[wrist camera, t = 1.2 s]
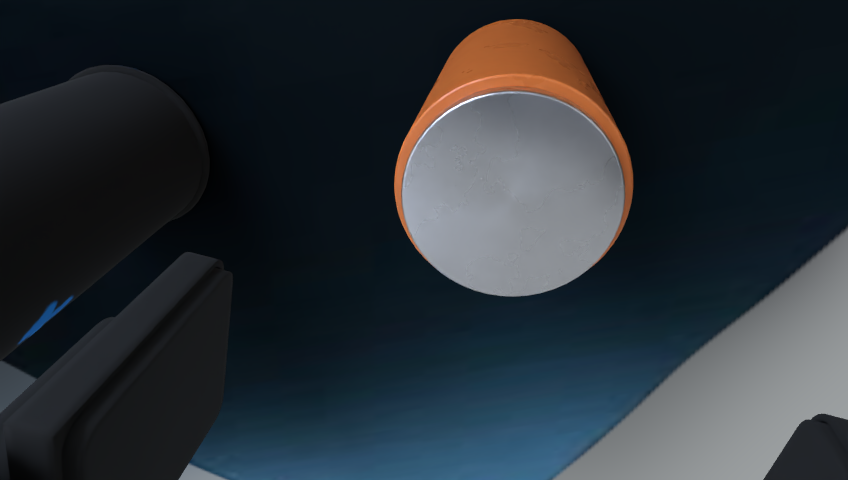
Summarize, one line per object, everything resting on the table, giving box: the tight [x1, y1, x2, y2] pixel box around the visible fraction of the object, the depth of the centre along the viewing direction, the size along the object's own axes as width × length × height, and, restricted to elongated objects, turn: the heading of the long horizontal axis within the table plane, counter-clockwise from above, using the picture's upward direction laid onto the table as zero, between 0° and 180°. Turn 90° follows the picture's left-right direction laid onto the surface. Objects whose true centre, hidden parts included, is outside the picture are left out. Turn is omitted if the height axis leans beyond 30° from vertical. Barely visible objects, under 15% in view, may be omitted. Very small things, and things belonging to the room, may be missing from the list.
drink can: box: [394, 19, 633, 296], centre depth 22 cm, size 7×7×12 cm
